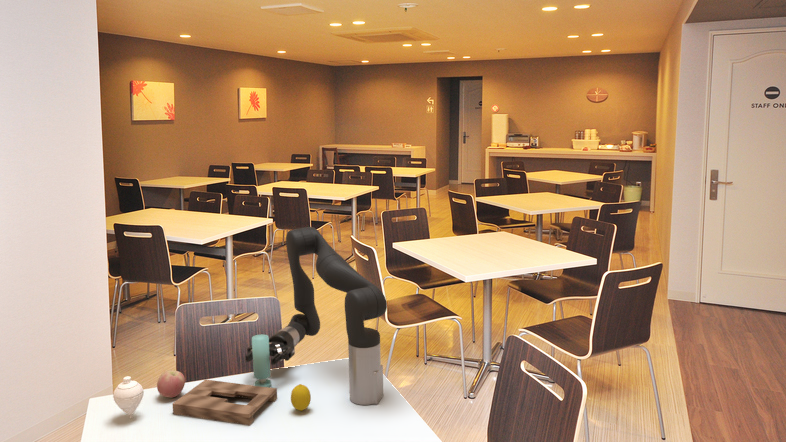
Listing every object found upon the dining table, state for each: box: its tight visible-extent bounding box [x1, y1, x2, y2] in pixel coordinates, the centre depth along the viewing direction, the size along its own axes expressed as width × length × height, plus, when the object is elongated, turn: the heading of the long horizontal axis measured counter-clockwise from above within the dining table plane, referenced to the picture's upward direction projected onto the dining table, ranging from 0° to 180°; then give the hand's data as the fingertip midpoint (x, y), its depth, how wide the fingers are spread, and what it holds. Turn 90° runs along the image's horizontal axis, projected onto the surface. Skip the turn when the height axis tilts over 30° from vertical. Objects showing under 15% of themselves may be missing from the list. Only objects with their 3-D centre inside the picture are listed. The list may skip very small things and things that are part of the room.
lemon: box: [290, 383, 312, 412], centre depth 167 cm, size 6×6×8 cm
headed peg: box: [251, 333, 272, 388], centre depth 182 cm, size 5×5×16 cm
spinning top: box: [112, 375, 145, 419], centre depth 164 cm, size 8×8×12 cm
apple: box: [156, 369, 186, 399], centre depth 176 cm, size 8×8×8 cm
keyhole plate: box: [172, 379, 278, 426], centre depth 171 cm, size 24×16×3 cm, turn 74°
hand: (259, 360), depth 180 cm, fingers open, 8 cm apart
